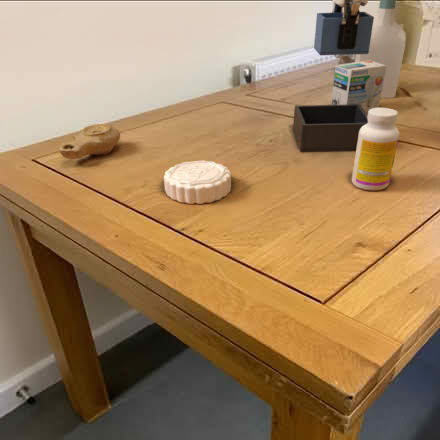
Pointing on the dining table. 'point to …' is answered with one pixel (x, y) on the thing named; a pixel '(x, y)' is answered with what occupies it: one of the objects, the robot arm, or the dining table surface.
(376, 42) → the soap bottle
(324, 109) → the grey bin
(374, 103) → the light bulb box
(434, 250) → the dining table surface
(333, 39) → the blue bin
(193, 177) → the mooncake
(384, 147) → the supplement bottle
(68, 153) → the oil lamp
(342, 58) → the elephant statuette
